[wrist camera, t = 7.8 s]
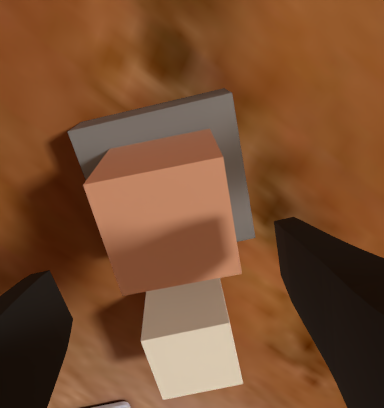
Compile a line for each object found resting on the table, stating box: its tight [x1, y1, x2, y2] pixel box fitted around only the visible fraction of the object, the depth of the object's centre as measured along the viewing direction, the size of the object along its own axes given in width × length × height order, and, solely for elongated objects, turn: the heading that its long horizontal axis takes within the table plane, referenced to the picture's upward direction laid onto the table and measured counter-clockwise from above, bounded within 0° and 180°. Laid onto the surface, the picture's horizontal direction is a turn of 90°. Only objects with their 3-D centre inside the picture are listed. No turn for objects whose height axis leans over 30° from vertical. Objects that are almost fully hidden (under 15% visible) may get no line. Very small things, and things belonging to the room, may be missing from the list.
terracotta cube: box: [83, 129, 242, 296], centre depth 15 cm, size 5×5×5 cm
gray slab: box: [68, 89, 255, 242], centre depth 18 cm, size 8×8×3 cm
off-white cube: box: [141, 278, 243, 400], centre depth 21 cm, size 5×5×5 cm
